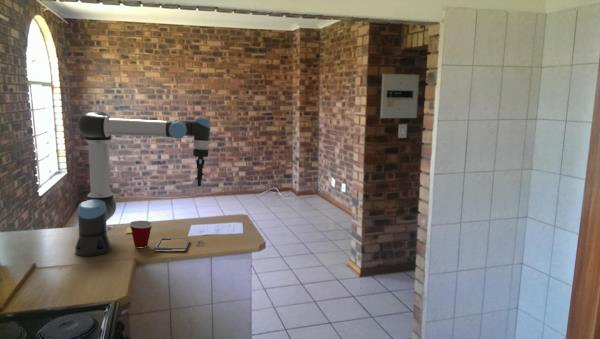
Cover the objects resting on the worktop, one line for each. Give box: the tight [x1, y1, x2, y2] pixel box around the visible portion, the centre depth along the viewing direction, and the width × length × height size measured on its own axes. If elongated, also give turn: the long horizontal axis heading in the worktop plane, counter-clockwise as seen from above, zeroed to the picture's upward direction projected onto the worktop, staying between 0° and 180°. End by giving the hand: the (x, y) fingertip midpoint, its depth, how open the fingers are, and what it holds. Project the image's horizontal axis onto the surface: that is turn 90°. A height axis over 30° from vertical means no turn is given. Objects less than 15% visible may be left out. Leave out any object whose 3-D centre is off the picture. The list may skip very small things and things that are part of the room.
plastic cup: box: [129, 220, 154, 247], centre depth 206 cm, size 11×11×12 cm
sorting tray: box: [153, 237, 190, 251], centre depth 208 cm, size 15×15×2 cm
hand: (198, 190), depth 214 cm, fingers open, 13 cm apart
